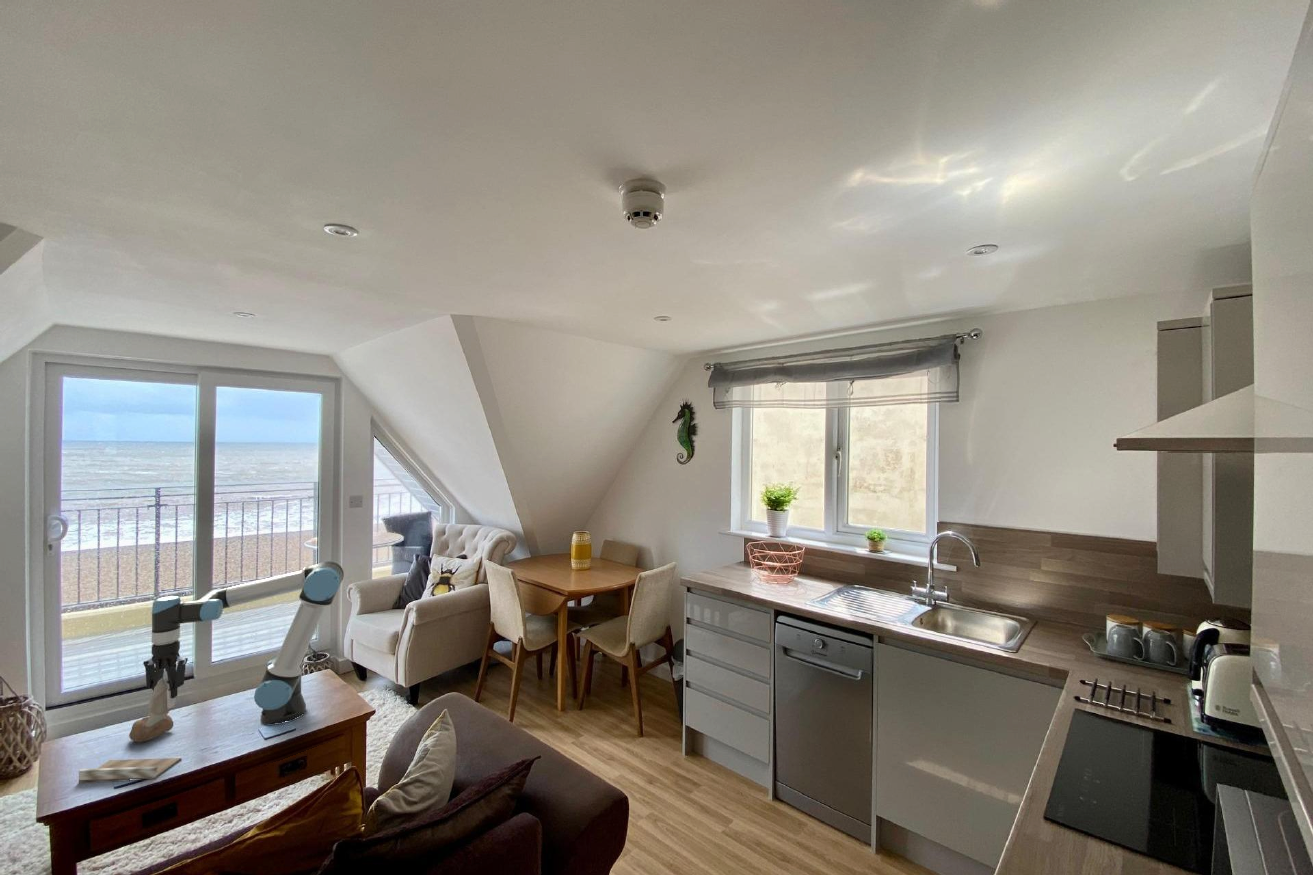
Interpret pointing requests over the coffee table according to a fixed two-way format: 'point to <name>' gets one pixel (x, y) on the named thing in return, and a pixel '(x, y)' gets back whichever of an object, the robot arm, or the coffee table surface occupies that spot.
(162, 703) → the artifact
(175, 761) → the plank
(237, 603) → the robot arm
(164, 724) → the stone
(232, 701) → the coffee table surface
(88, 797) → the coffee table surface
